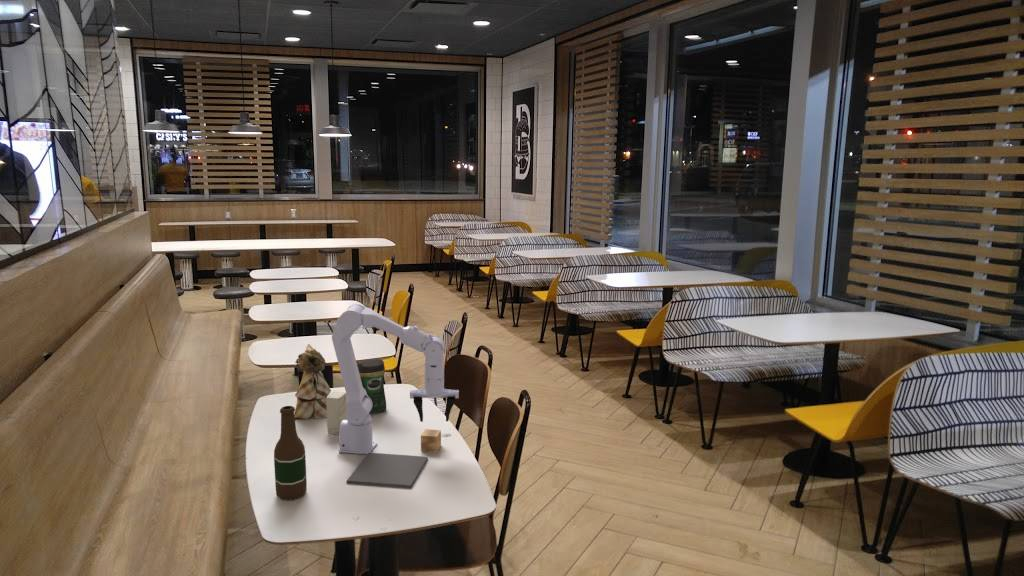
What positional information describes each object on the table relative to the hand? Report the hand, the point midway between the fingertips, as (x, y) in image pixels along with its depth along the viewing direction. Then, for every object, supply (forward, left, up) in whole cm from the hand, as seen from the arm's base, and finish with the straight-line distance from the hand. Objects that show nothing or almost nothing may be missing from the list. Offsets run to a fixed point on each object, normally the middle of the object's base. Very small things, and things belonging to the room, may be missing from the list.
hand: (434, 420), depth 206 cm
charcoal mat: (-9, -16, -9) cm, 21 cm away
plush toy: (-47, +22, -10) cm, 53 cm away
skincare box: (-34, +9, -10) cm, 37 cm away
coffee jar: (-29, +28, -10) cm, 42 cm away
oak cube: (-1, +1, -10) cm, 10 cm away
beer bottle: (-30, -33, -10) cm, 46 cm away
